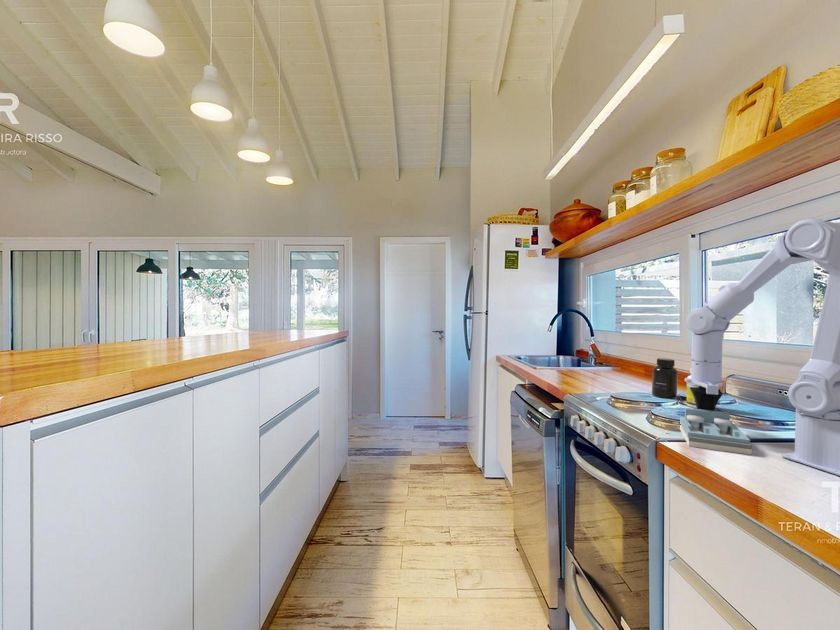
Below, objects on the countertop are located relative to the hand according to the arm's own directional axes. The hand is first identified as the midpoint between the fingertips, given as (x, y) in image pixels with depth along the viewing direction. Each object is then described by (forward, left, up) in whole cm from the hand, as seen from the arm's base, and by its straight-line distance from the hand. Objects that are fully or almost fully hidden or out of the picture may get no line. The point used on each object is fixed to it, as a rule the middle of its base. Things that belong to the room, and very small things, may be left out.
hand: (704, 419), depth 90 cm
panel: (-6, +5, -1) cm, 7 cm away
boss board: (-3, +3, -2) cm, 5 cm away
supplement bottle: (+31, -20, -3) cm, 37 cm away
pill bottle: (+18, -19, -3) cm, 26 cm away
